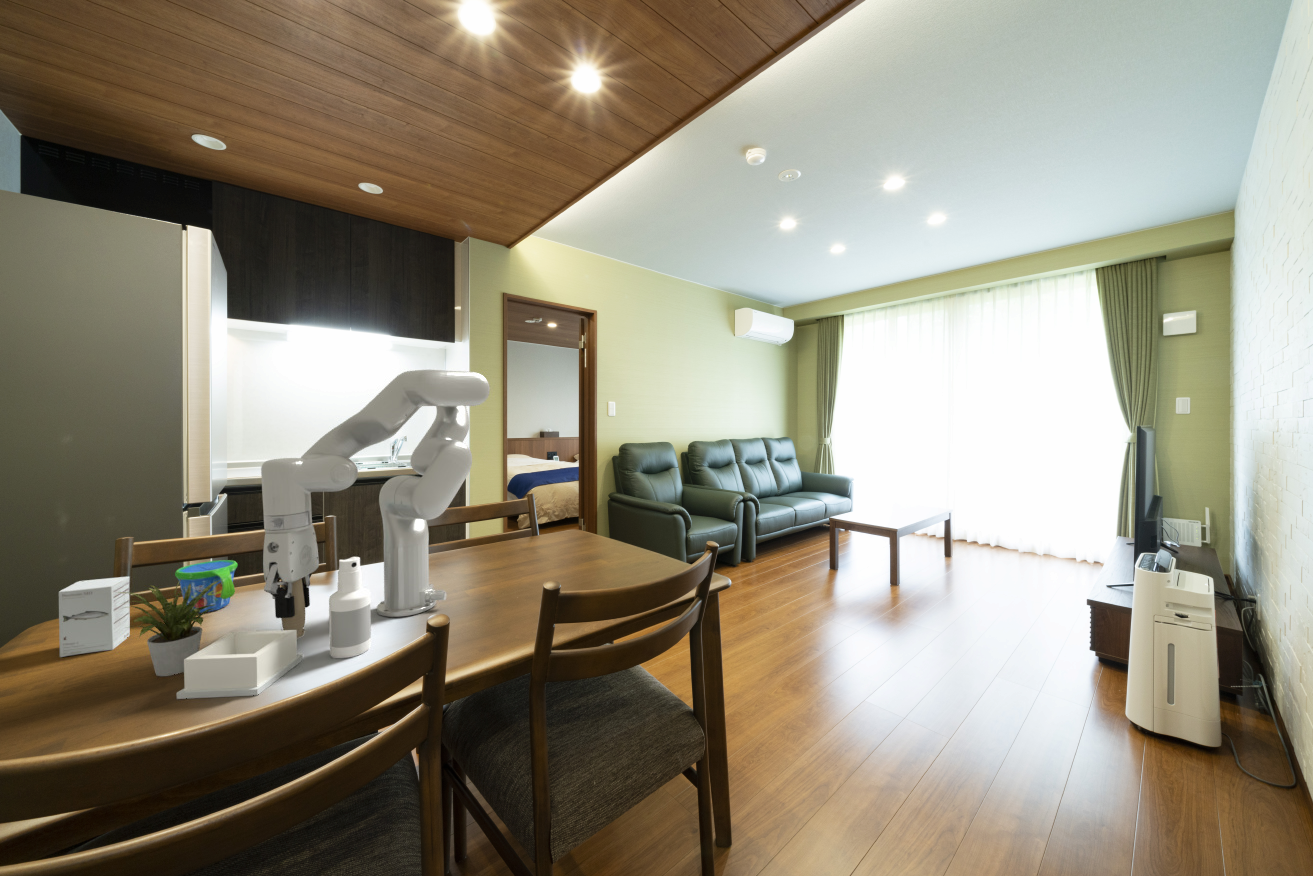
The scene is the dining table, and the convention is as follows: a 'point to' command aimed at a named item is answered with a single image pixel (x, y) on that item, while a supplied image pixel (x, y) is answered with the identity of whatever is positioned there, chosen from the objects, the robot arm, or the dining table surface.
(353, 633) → the spray bottle
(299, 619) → the handle
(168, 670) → the house plant
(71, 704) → the dining table surface
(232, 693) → the box
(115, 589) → the supplement box
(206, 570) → the snack cup
